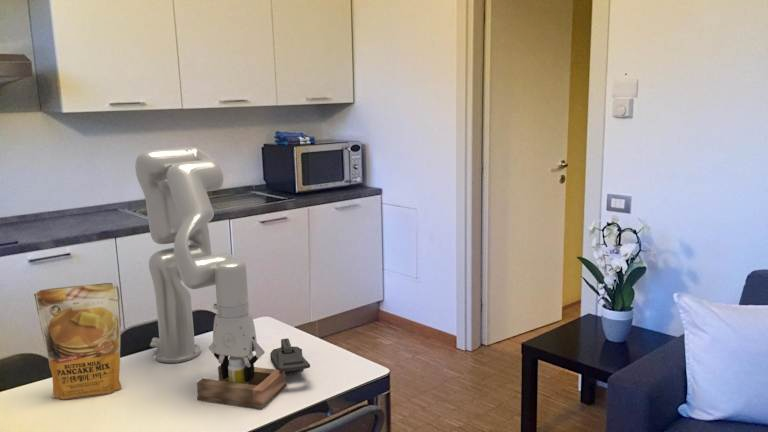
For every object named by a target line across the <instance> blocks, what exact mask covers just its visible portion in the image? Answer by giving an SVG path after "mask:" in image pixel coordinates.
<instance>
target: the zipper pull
mask: <svg viewBox="0 0 768 432" xmlns="http://www.w3.org/2000/svg"><path fill="white" fill-rule="evenodd" d="M280 344H281V345H280V347H277V348H274V349H272V350H271V352H270V361H271V363H272V365H273V367H274V369H275V370H279V371H285V376H290V375H297V374H299V373H302V372H304V369H310V368H311V364H310V362H309V361H308V360H306V358H305V357H304V356H303V349H302V348H301V347H298V346H292V344H291V341H290V339H289V338H281V339H280Z"/></svg>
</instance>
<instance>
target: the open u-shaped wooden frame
mask: <svg viewBox="0 0 768 432" xmlns="http://www.w3.org/2000/svg"><path fill="white" fill-rule="evenodd" d="M217 371H218V379H212V378H201V379H200V380H198V381H197V382H196V388H197V389H196V390H197V396H196V401H198V402H204V403H205V402H206V403H212V404H213V403H215V404H219V405H220V404H221V405H226V406H233V407H240V408H249V409H255V410H260V411H261V410H264V408H266V407H267V406H268V405H269V404H270V403H271V402H272V401H273V400H274V399H275V398H276V397H277V396H278V395H279V394H280V393H281V392H283V391H284V389H285V388H286V387H287V384H288V383H287V382H286V375H285V371H279V370H276V369H275V368H266V367H258V366H257V367H256V366H254V377H253V378H252V379H251V380H250V381H249V384H243V383H235V382H229V377H227V378H226V379H223V378H222V373H221V364H220V365H219V366H217Z"/></svg>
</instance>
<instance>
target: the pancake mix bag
mask: <svg viewBox="0 0 768 432" xmlns="http://www.w3.org/2000/svg"><path fill="white" fill-rule="evenodd" d="M113 284H114V283H113V282H104V283H96V284H95V283H93V284H87V285H72V286H63V287H62V286H60V287H53V288H47V289H41V290H39V291H37V292H35V293H33V296H34V300H35V305H36V310H37V315H38V317H39V322H40V323H39V324H40V330H41V333H42V338H43V342H44V348H45V350H46V353H47V359H48V365H49V369H50V373H51V377H52V396H51V398H52V399H60V400H67V401H68V400H73V399H84V398H89V397H98V396H107V395H111V394H114V393H115V392H116V391H118V390H122V389H123V387H122V384H121V380H120V373H121V372H120V369H121V337H122V336H121V335H122V334H121V326H122V319H121V307H120V306H121V305H120V298H121V297H120V290H119V289H120V288H119V286H118V285H113Z"/></svg>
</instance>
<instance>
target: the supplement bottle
mask: <svg viewBox="0 0 768 432" xmlns="http://www.w3.org/2000/svg"><path fill="white" fill-rule="evenodd" d="M228 360H229V365H228V375H229V382H235V383H243V384H249V382H246V381H245V373H244V367H245V366H246V364H245V361H244V359H243V358H241V357H232V356H229V357H228Z"/></svg>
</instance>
